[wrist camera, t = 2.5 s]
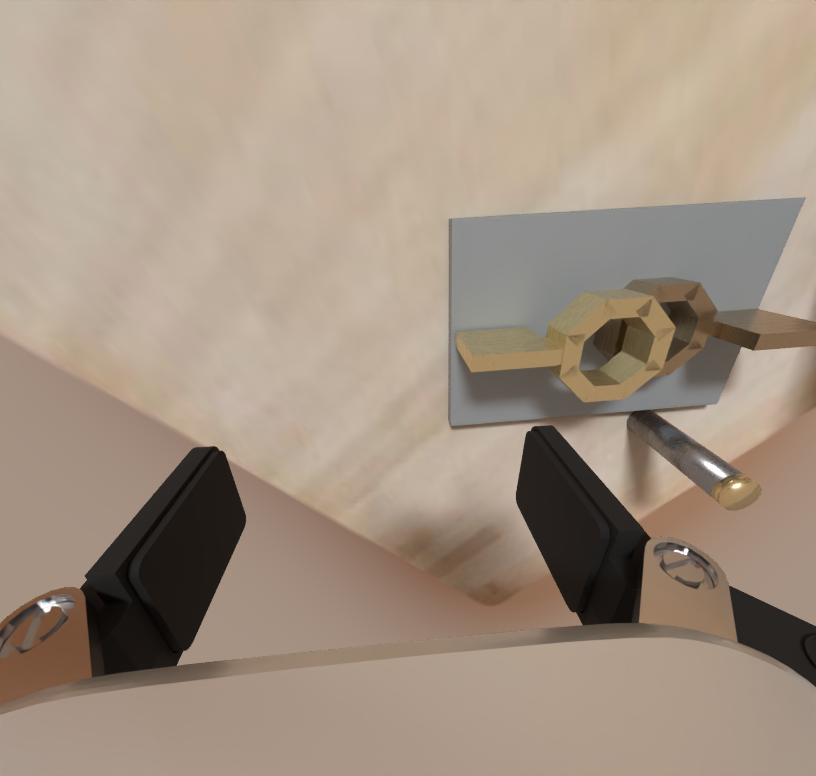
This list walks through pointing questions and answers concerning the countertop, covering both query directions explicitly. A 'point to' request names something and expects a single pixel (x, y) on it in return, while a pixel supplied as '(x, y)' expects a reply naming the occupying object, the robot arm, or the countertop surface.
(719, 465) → the hinge pin
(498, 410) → the slate board
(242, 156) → the countertop surface
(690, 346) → the fixed leaf
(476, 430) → the countertop surface
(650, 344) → the brass box-end wrench
